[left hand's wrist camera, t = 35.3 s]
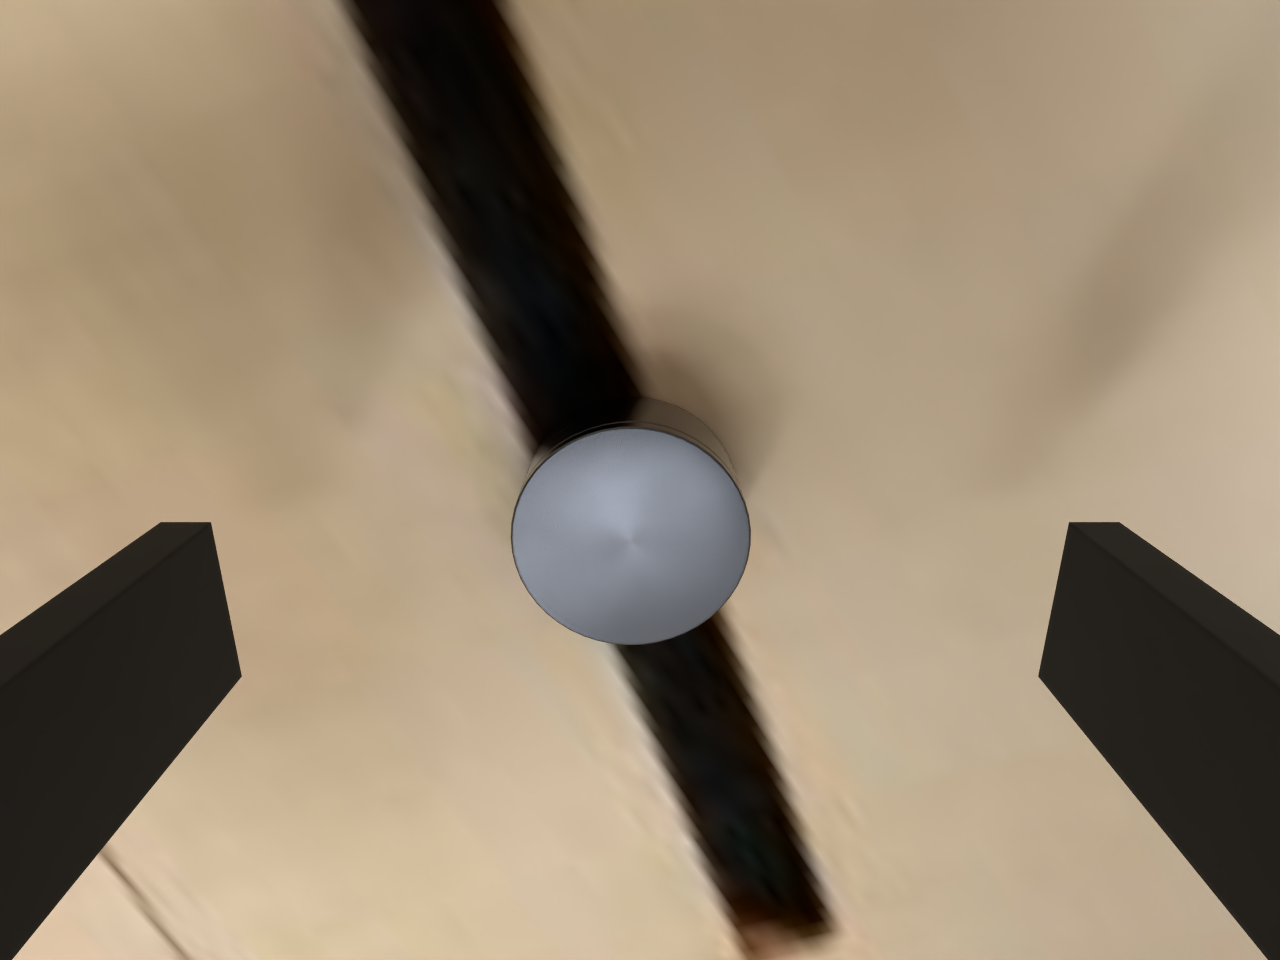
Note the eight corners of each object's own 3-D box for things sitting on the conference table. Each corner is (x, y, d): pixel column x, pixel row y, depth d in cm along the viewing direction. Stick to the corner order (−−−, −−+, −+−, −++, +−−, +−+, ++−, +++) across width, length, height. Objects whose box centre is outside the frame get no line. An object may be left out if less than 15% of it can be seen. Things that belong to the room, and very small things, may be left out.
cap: (663, 626, 17) (666, 682, 15) (487, 530, 16) (467, 576, 14) (779, 467, 16) (799, 506, 14) (594, 354, 15) (589, 380, 13)
